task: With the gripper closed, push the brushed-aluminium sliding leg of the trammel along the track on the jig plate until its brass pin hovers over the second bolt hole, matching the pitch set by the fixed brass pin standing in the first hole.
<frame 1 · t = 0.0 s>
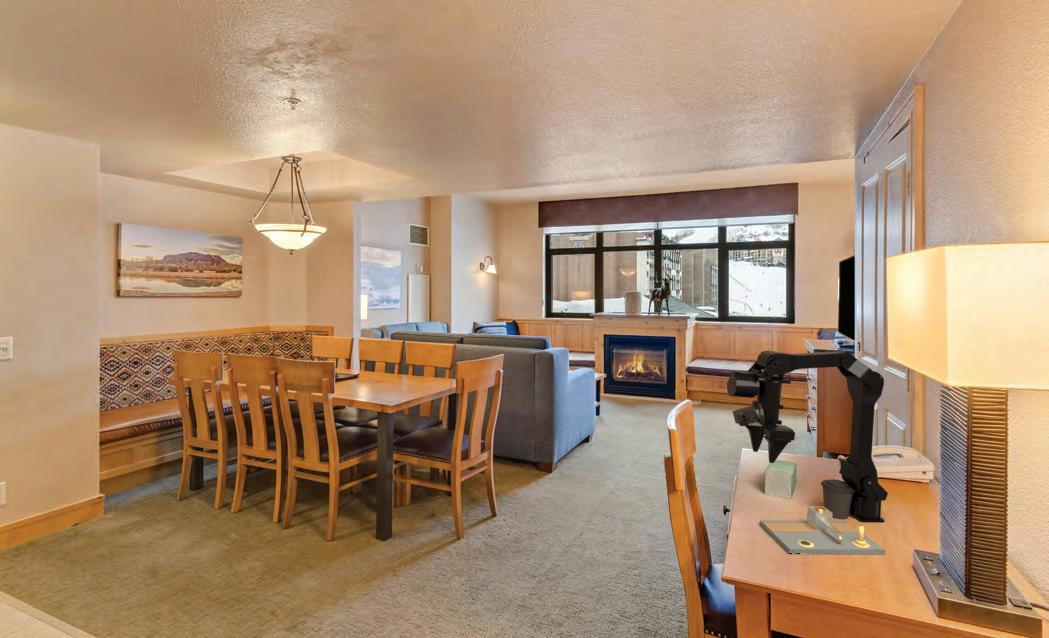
hand: (763, 457, 140), 16 cm above the table, tool pointing down, fingers open, 9 cm apart
sliding leg: (827, 523, 128), point 4 cm above the table, slide at 0.0 cm
coffee cup: (836, 518, 142), on the table, touching arm
jig plate: (818, 538, 129), on the table
box: (780, 490, 160), on the table
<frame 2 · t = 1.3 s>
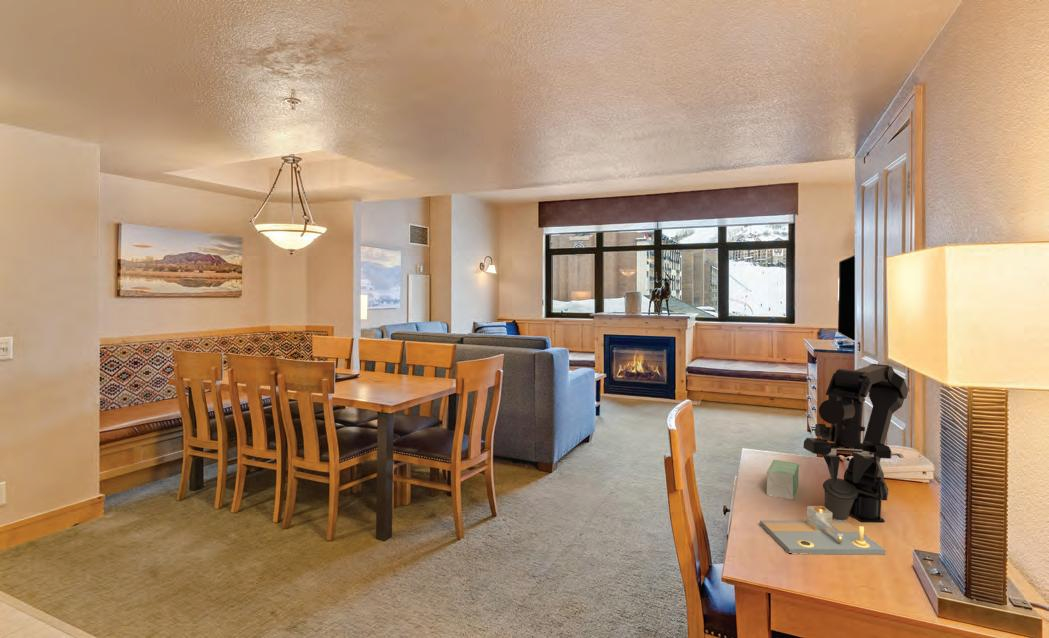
hand: (844, 482, 132), 13 cm above the table, tool pointing down, fingers open, 5 cm apart
coffee cup: (835, 515, 142), on the table, touching arm
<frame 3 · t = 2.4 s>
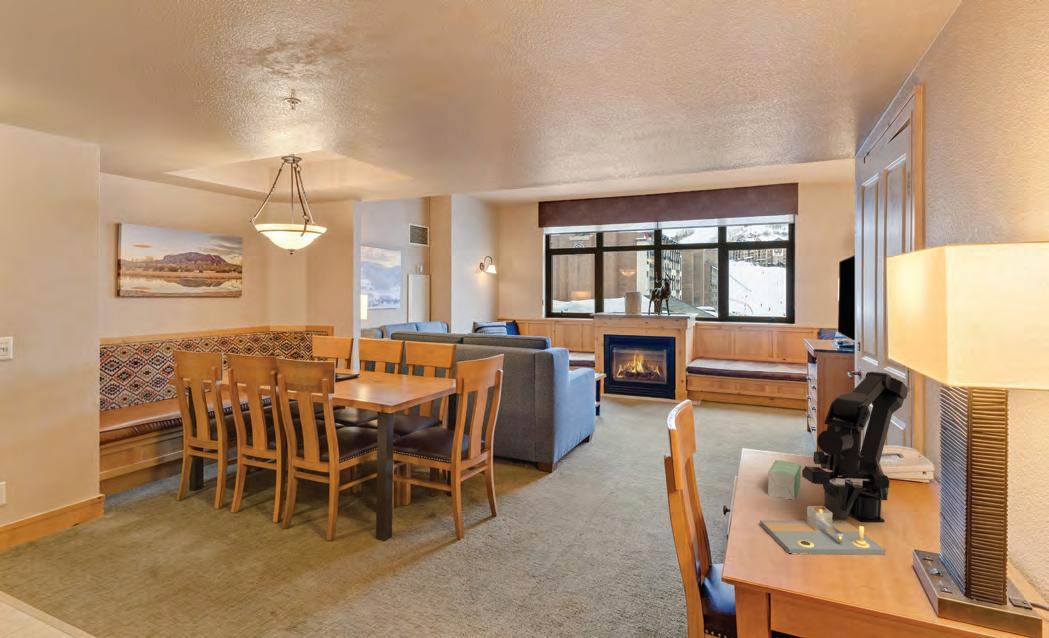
hand: (842, 510, 132), 5 cm above the table, tool pointing down, fingers closed
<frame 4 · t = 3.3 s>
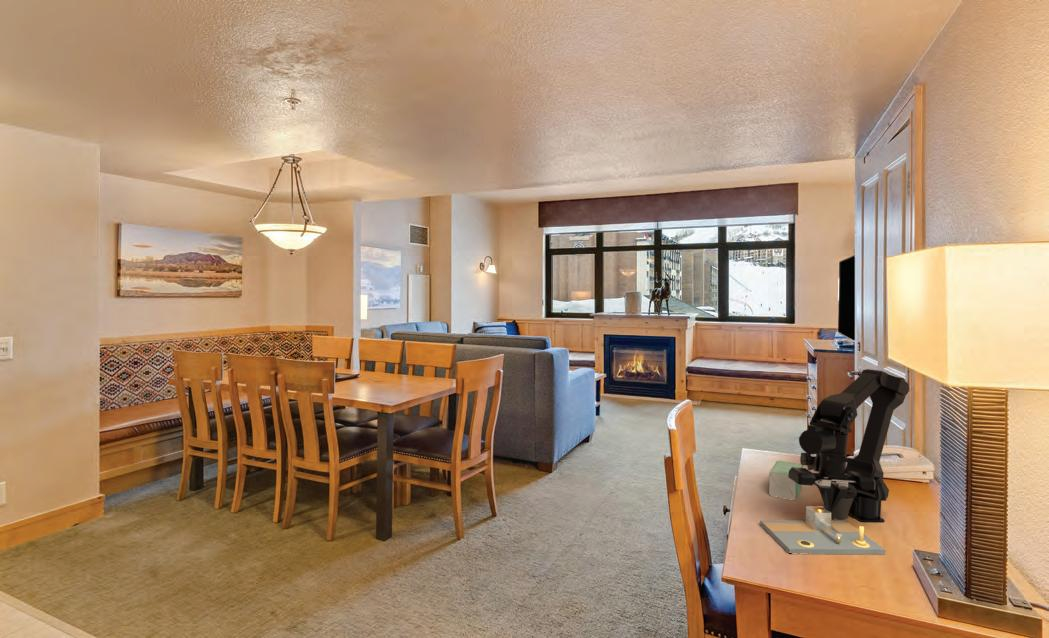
hand: (828, 512, 132), 5 cm above the table, tool pointing down, fingers closed
sliding leg: (826, 523, 128), point 4 cm above the table, slide at 0.3 cm, touching gripper
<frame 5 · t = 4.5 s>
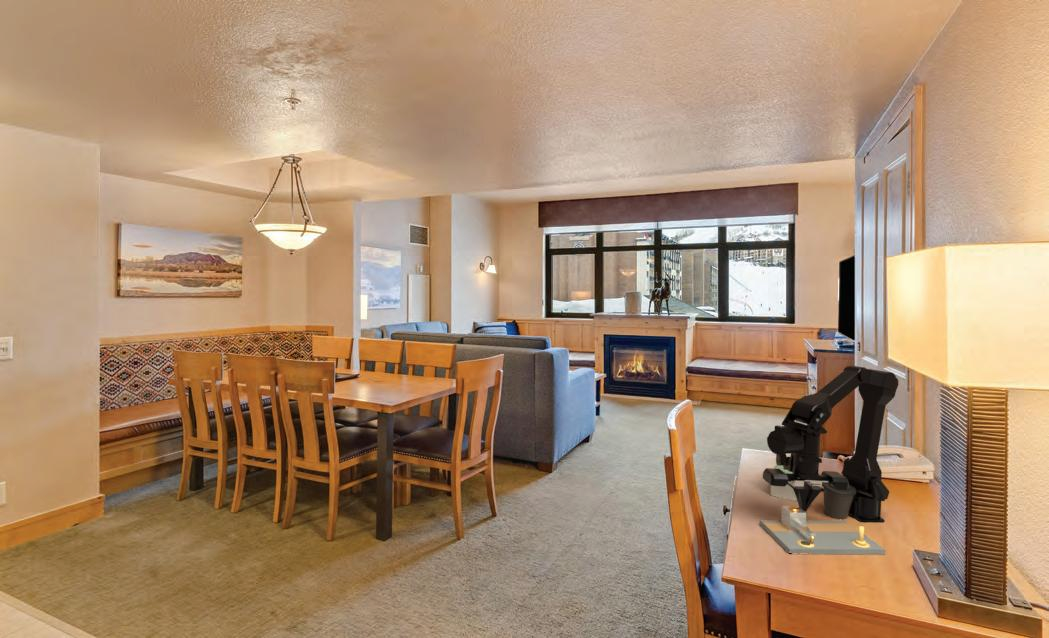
hand: (802, 512, 133), 5 cm above the table, tool pointing down, fingers closed
sliding leg: (801, 523, 128), point 4 cm above the table, slide at 6.5 cm, touching gripper
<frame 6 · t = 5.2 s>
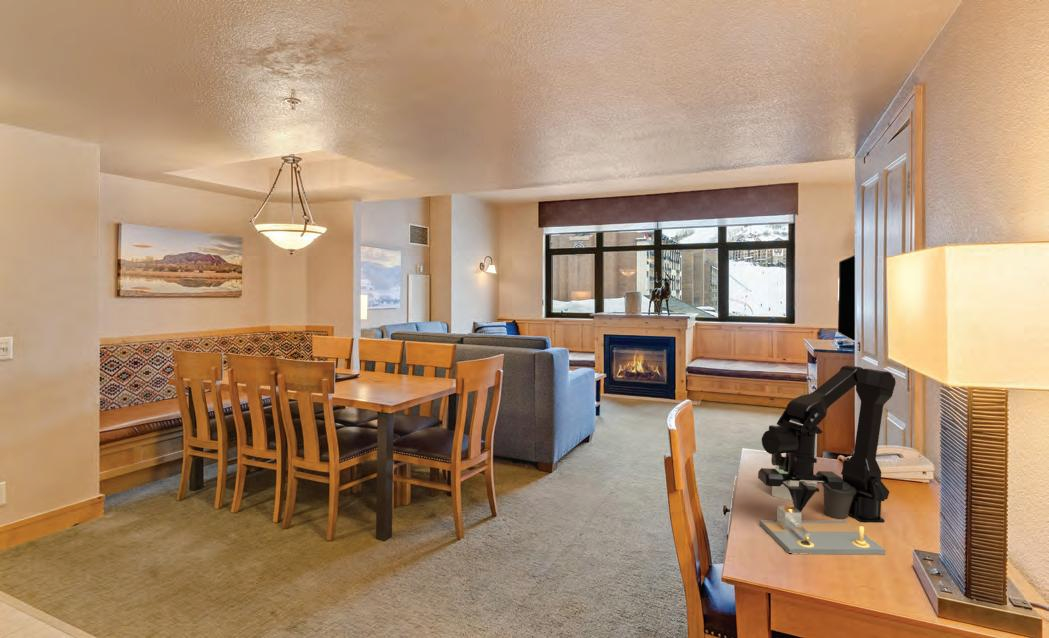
hand: (798, 512, 133), 5 cm above the table, tool pointing down, fingers closed
sliding leg: (796, 523, 128), point 4 cm above the table, slide at 7.7 cm, touching gripper
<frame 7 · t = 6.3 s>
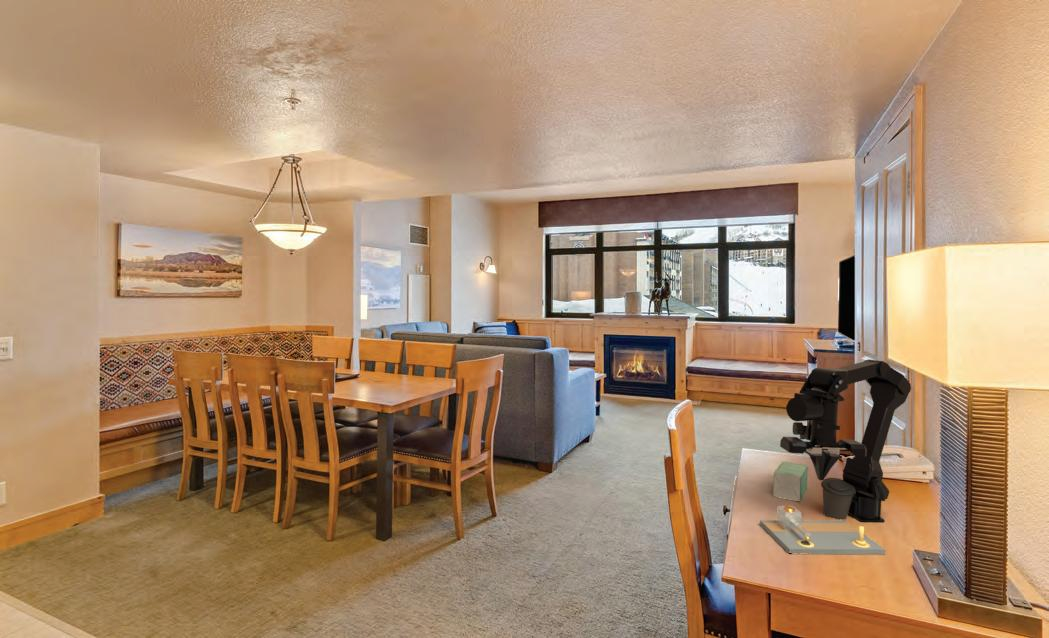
hand: (820, 479, 133), 13 cm above the table, tool pointing down, fingers closed
sliding leg: (796, 523, 128), point 4 cm above the table, slide at 7.7 cm
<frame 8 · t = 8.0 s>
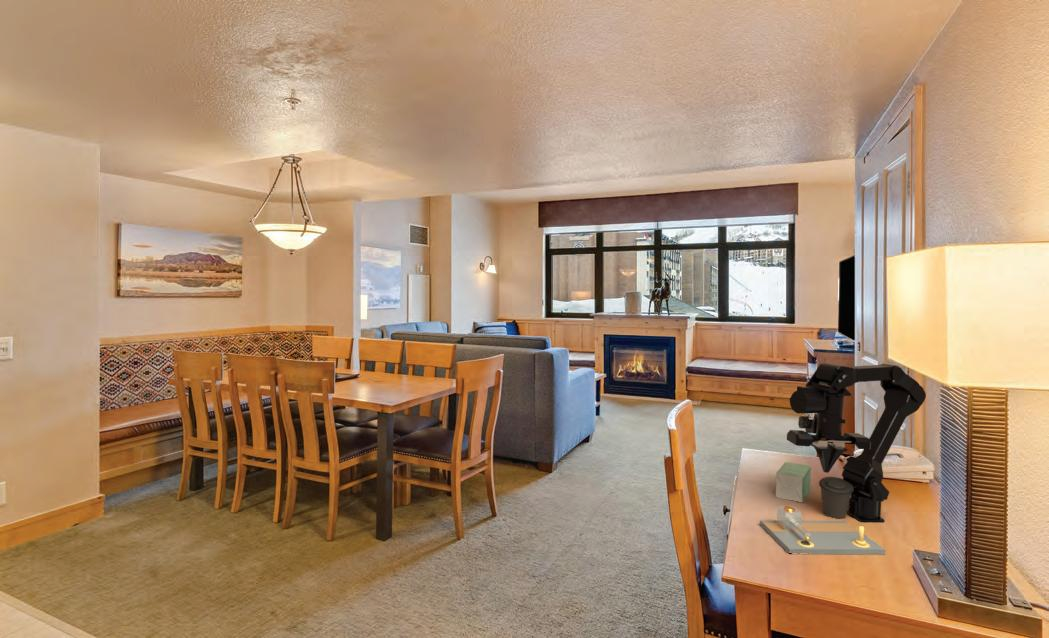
hand: (825, 472, 137), 13 cm above the table, tool pointing down, fingers closed
at the end: sliding leg slide at 7.7 cm; sliding leg moved 7.7 cm from its start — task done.
